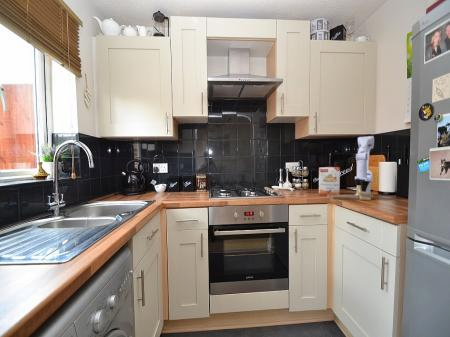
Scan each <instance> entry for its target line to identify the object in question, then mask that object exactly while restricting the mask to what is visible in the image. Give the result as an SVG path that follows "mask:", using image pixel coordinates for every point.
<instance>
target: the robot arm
mask: <svg viewBox="0 0 450 337" xmlns="http://www.w3.org/2000/svg"><path fill="white" fill-rule="evenodd" d="M357 145H358V150H357V153H355V160H356V176H354V180H353V183H354V184H355V186H356V187H357V185H361V189H362V192H366V193H369V194H371V185H372V183H373V182H374V176H373V175H374V173H373V171H371V170H369V169H370V168H369V167H370V153H371V150H372V149H374V146H375V137H374V135H368V136H359V137H357ZM355 195H357V193H355ZM371 197H373V195H372V194H371Z"/></svg>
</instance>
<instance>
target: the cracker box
mask: <svg viewBox="0 0 450 337" xmlns="http://www.w3.org/2000/svg"><path fill="white" fill-rule="evenodd" d="M340 178H341V167H338V166H335V167H334V166H326V167H325V166H324V167H318V194H319V195H340V187H341V186H340V185H341V184H340V181H341V180H340Z"/></svg>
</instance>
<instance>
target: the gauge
mask: <svg viewBox="0 0 450 337" xmlns="http://www.w3.org/2000/svg"><path fill="white" fill-rule="evenodd" d="M356 194H357V195H358V196H359V199H360V201H361V200H362V201H364V200H365V201H368V200H370V201H372V200H371V197H372V196H371V195H372V194H371V193H370V194H369V193H366V192H362V189H361V185H357V186H356Z"/></svg>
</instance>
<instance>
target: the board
mask: <svg viewBox="0 0 450 337" xmlns="http://www.w3.org/2000/svg"><path fill="white" fill-rule="evenodd" d="M326 196H327V198H330V199H331V200H340V201H341V200H343V199H350V201H351V200H352V201H354V200H355V201H356V200H357V201H358V200H360V199H359V196H358V195H356V194H339V195H335V194H326ZM372 200H373V196H371V200H370V201H372ZM360 201H361V200H360Z"/></svg>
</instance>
